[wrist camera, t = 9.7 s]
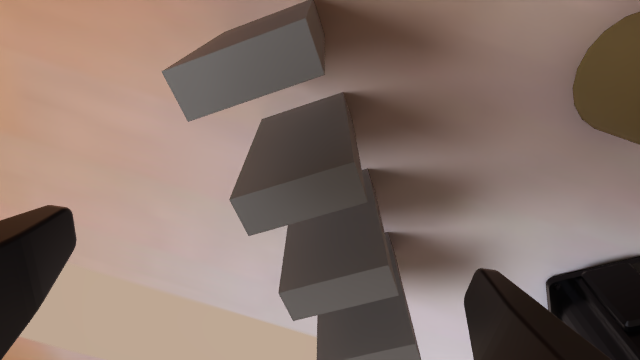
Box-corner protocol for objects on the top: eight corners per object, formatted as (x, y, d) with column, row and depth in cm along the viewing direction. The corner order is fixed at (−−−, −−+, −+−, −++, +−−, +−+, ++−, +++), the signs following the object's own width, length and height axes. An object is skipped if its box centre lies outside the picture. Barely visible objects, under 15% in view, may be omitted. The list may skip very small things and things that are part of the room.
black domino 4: (324, 34, 18) (324, 74, 11) (238, 65, 19) (187, 121, 12) (313, -2, 18) (305, 18, 11) (224, 32, 18) (161, 71, 11)
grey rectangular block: (352, 121, 20) (367, 202, 13) (273, 146, 21) (248, 236, 14) (343, 92, 20) (354, 161, 13) (261, 119, 20) (229, 199, 13)
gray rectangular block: (394, 252, 24) (423, 367, 17) (327, 269, 25) (328, 387, 18) (387, 232, 24) (415, 343, 17) (318, 250, 24) (316, 365, 17)
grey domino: (375, 192, 22) (398, 295, 15) (302, 213, 23) (293, 321, 16) (367, 168, 22) (388, 265, 15) (292, 190, 22) (278, 293, 15)
